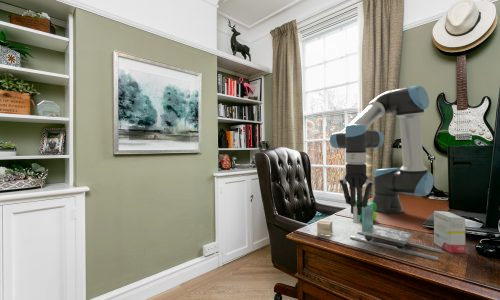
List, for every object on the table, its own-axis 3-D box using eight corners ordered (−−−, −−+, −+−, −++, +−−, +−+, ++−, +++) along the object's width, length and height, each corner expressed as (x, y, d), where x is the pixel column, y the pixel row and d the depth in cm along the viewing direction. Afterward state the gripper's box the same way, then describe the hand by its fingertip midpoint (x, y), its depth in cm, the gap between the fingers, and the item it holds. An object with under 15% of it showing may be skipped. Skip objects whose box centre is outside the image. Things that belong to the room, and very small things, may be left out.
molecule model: (366, 215, 121) (351, 217, 119) (366, 198, 121) (351, 199, 119) (379, 221, 112) (362, 222, 111) (378, 202, 112) (362, 203, 111)
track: (358, 232, 98) (358, 230, 98) (441, 251, 79) (441, 249, 79) (349, 238, 92) (349, 236, 92) (437, 261, 73) (437, 258, 73)
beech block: (320, 230, 101) (320, 219, 101) (332, 232, 98) (332, 220, 98) (317, 234, 96) (317, 222, 96) (330, 236, 94) (329, 224, 94)
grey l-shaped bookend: (370, 232, 95) (370, 202, 95) (412, 241, 85) (411, 208, 85) (361, 239, 88) (361, 207, 88) (405, 250, 78) (405, 214, 78)
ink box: (466, 253, 77) (466, 217, 77) (450, 253, 78) (449, 217, 78) (448, 243, 86) (447, 210, 86) (433, 242, 86) (433, 210, 86)
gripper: (335, 163, 96) (336, 221, 96) (369, 164, 87) (370, 228, 87) (343, 162, 101) (344, 217, 101) (376, 163, 92) (377, 223, 92)
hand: (356, 222), depth 94 cm, fingers closed
